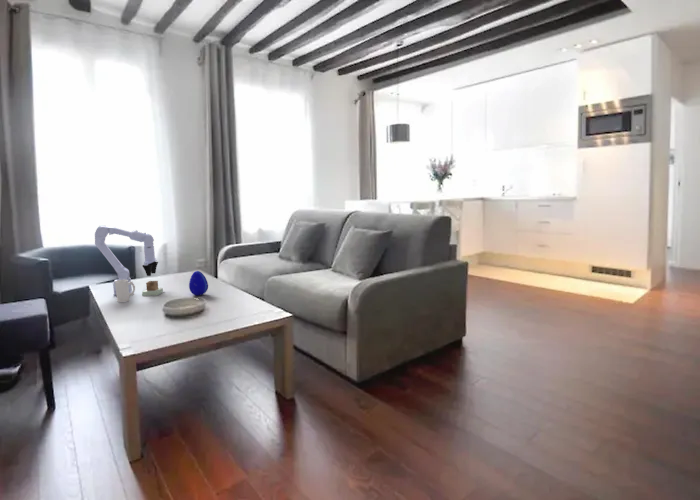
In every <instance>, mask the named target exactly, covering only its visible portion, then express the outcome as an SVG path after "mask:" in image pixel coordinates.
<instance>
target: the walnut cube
mask: <svg viewBox="0 0 700 500" xmlns="http://www.w3.org/2000/svg"><path fill="white" fill-rule="evenodd" d="M145 284H146V285H145V286H146V289H147V291H155V290H157V289H158V288H159V280H149V281H147V282H146V283H145Z"/></svg>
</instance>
